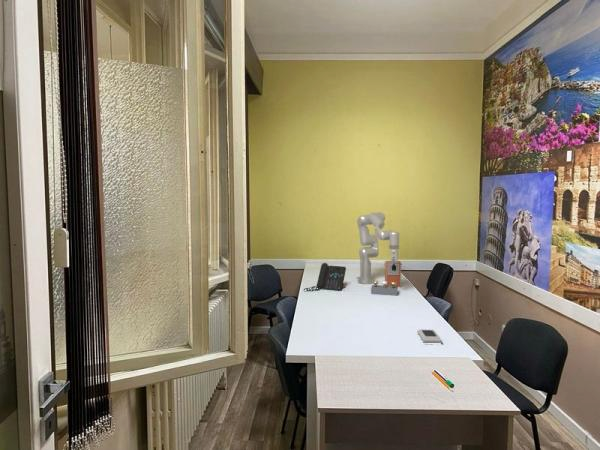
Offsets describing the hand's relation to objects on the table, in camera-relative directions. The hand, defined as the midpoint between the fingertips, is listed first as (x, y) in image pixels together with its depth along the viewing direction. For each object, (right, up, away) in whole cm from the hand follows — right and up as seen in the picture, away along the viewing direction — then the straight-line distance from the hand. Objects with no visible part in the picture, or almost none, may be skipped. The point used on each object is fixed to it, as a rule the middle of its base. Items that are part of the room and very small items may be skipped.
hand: (393, 270), depth 311 cm
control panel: (+5, -17, +26) cm, 32 cm away
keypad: (-3, -28, -94) cm, 98 cm away
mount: (-7, -19, +4) cm, 20 cm away
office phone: (-53, -18, +19) cm, 59 cm away
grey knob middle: (-7, -14, +3) cm, 15 cm away
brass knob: (0, -14, +1) cm, 14 cm away
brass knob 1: (-13, -13, +5) cm, 20 cm away
